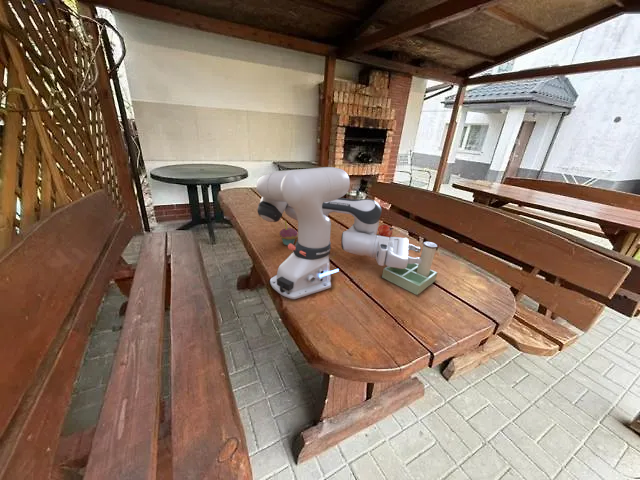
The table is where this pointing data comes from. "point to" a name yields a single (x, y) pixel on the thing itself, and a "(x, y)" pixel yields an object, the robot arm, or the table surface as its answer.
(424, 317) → the table surface
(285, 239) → the cupcake
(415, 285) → the compartment tray
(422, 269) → the capped cylinder
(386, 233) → the pomegranate
